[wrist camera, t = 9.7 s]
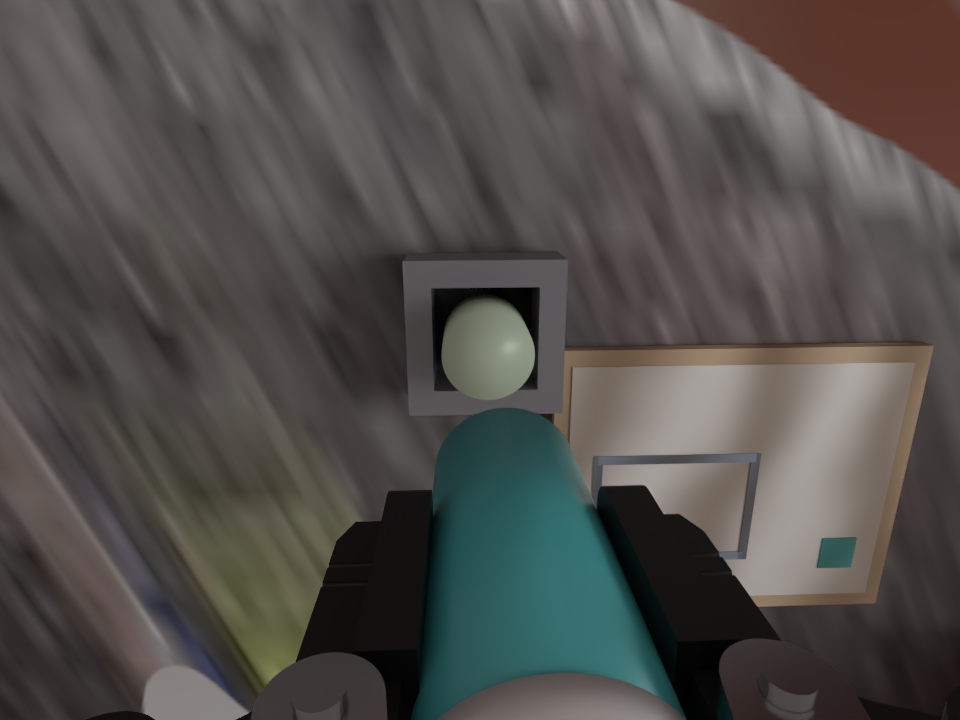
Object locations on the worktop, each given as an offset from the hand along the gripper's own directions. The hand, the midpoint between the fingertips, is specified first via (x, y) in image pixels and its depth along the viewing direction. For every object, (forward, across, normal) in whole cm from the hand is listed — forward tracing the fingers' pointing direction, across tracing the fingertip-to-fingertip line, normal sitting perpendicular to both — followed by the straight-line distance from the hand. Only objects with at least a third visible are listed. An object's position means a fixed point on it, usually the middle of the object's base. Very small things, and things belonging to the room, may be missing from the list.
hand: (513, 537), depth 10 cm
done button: (+14, 0, 0) cm, 14 cm away
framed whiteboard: (+15, -11, +7) cm, 20 cm away
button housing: (+15, 0, 0) cm, 15 cm away
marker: (+4, 0, 0) cm, 4 cm away
